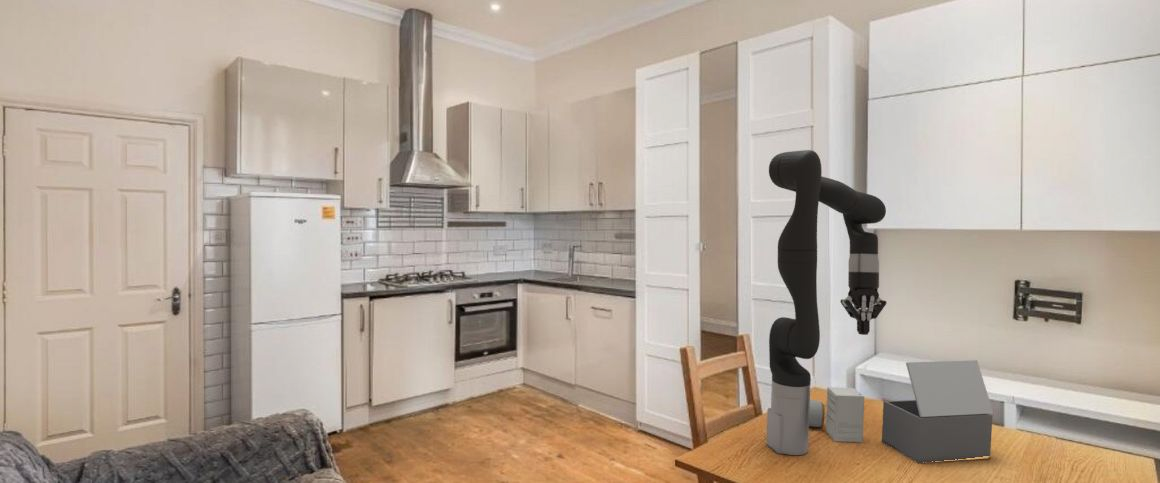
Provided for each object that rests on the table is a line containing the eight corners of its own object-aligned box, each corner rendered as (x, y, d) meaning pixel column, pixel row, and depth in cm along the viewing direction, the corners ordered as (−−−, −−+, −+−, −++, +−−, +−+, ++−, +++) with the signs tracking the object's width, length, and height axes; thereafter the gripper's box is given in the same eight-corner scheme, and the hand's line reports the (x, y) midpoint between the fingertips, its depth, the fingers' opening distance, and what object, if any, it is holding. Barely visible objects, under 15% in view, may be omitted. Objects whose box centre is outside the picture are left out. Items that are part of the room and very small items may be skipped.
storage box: (918, 463, 138) (920, 418, 137) (881, 442, 150) (883, 401, 150) (990, 458, 141) (992, 415, 140) (947, 438, 154) (949, 398, 153)
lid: (920, 417, 137) (921, 416, 137) (905, 362, 142) (907, 362, 142) (991, 413, 141) (993, 413, 140) (975, 360, 145) (977, 360, 145)
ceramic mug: (825, 431, 157) (826, 404, 157) (793, 428, 159) (794, 401, 159) (819, 419, 167) (820, 393, 167) (790, 416, 169) (791, 390, 169)
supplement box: (852, 432, 157) (854, 387, 156) (863, 443, 149) (865, 396, 149) (824, 431, 158) (826, 386, 157) (834, 441, 150) (836, 394, 149)
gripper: (850, 270, 151) (850, 335, 150) (894, 271, 153) (894, 336, 153) (833, 270, 158) (832, 332, 158) (875, 271, 161) (875, 333, 160)
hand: (863, 334), depth 155 cm, fingers closed
